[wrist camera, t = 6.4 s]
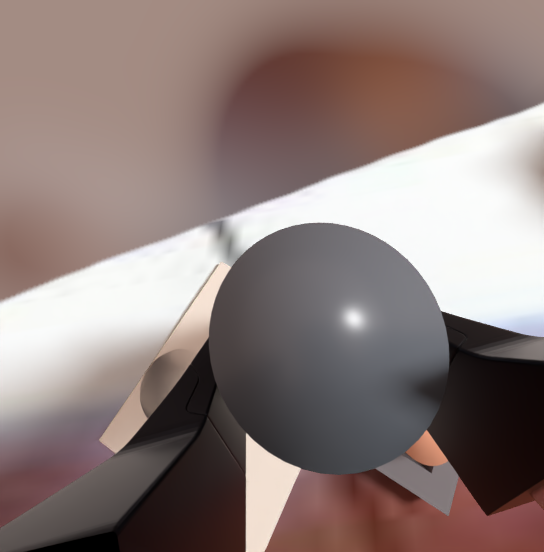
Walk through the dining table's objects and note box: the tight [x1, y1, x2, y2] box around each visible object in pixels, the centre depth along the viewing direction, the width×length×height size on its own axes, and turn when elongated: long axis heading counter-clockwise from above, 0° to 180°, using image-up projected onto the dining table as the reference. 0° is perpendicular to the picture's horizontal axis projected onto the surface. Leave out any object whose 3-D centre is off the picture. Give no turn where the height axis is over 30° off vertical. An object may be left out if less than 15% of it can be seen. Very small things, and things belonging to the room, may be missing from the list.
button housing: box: [375, 453, 459, 516], centre depth 18 cm, size 10×10×2 cm
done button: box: [406, 430, 448, 466], centre depth 16 cm, size 5×5×2 cm
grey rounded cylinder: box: [209, 223, 449, 475], centre depth 10 cm, size 5×5×11 cm
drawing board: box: [99, 262, 301, 552], centre depth 19 cm, size 20×17×1 cm
